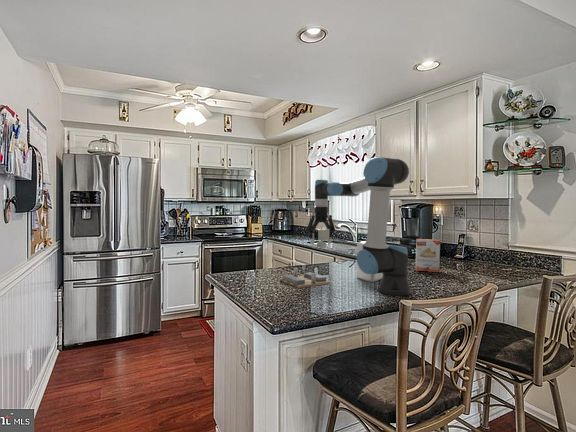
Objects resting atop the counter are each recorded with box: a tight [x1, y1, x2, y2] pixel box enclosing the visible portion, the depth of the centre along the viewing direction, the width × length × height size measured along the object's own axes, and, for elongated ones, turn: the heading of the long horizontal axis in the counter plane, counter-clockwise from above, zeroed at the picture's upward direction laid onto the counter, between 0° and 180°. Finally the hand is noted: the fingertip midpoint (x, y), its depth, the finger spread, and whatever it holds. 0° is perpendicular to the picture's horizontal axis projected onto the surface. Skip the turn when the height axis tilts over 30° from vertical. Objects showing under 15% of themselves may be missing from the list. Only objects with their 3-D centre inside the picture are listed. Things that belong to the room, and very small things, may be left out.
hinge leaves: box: [282, 267, 327, 284], centre depth 190 cm, size 20×19×5 cm
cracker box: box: [415, 238, 441, 273], centre depth 222 cm, size 14×6×21 cm, turn 73°
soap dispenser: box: [356, 240, 383, 283], centre depth 199 cm, size 15×14×22 cm
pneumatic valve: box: [313, 226, 333, 249], centre depth 201 cm, size 6×12×12 cm, turn 117°
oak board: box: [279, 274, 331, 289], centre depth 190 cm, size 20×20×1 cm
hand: (320, 243), depth 201 cm, fingers closed on pneumatic valve, 11 cm apart
